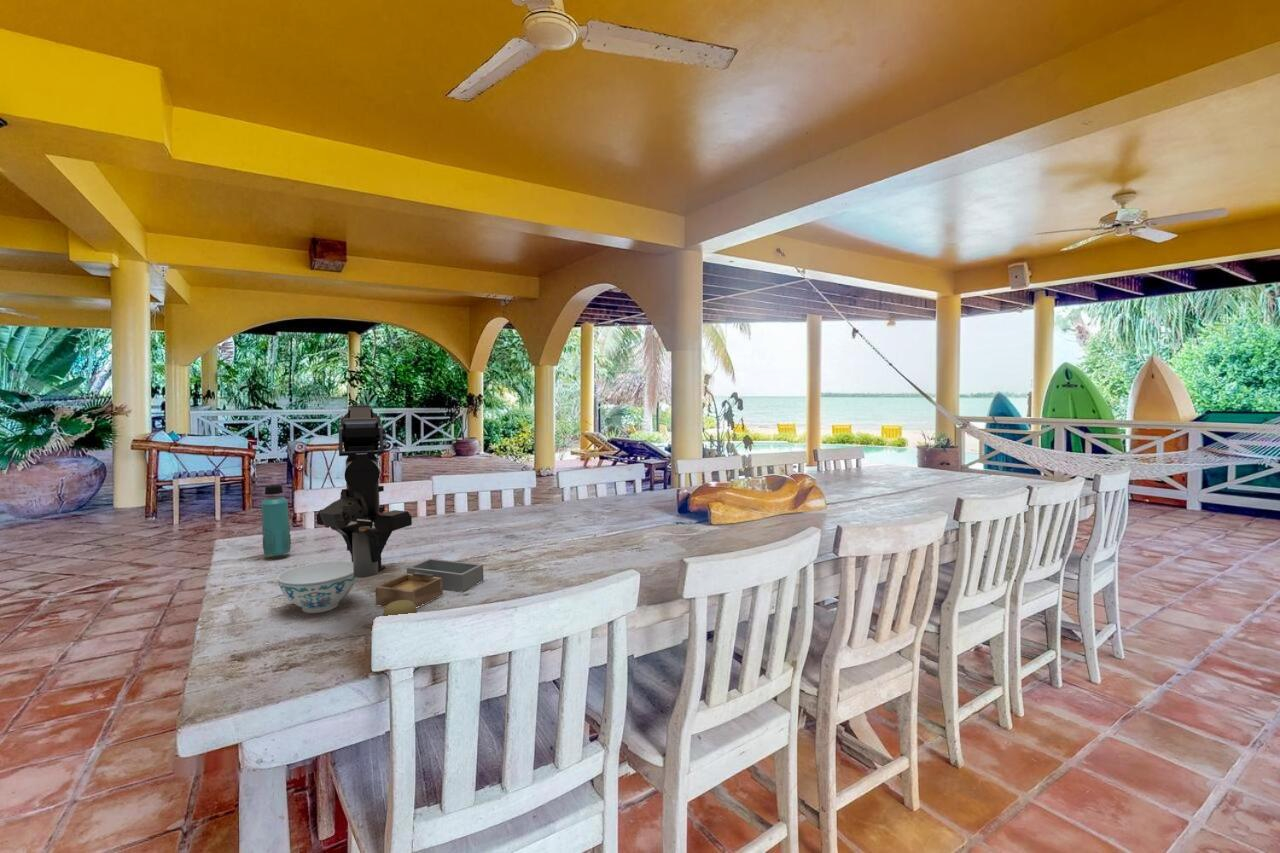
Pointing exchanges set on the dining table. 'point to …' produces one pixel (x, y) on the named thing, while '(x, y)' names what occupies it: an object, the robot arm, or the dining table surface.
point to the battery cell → (362, 554)
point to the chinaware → (317, 584)
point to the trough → (451, 573)
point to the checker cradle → (417, 595)
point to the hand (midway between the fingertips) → (365, 560)
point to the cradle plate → (409, 585)
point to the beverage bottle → (275, 523)
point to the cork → (400, 610)
